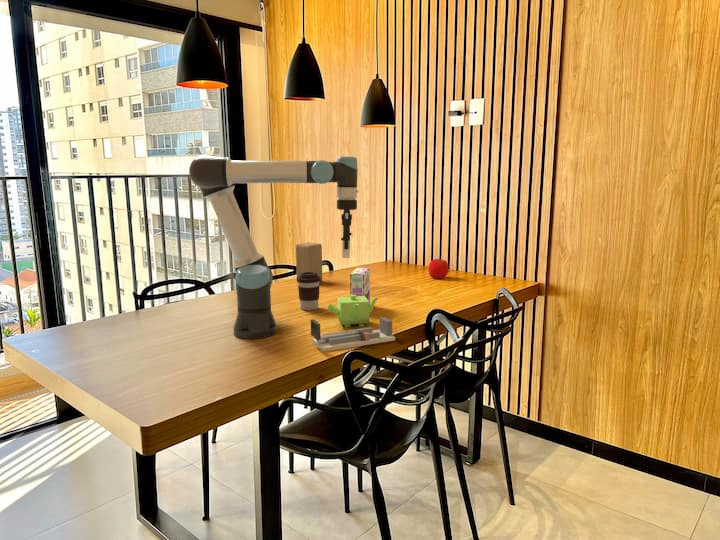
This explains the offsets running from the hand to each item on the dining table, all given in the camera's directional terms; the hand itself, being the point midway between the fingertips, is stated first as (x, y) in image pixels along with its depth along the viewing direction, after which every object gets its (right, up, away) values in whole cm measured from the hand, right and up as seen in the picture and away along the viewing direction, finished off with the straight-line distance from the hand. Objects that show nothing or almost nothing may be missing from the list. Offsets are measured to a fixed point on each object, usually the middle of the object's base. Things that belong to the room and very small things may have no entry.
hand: (346, 255), depth 197 cm
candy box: (+5, -22, +18) cm, 29 cm away
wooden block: (-21, -12, +71) cm, 75 cm away
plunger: (-2, -29, -26) cm, 39 cm away
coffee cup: (-16, -22, +20) cm, 34 cm away
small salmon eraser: (+7, -29, -26) cm, 39 cm away
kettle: (+3, -26, -3) cm, 27 cm away
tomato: (+47, -10, +78) cm, 92 cm away
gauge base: (+3, -30, -23) cm, 37 cm away
